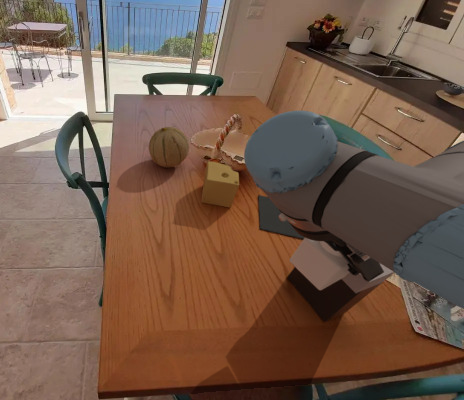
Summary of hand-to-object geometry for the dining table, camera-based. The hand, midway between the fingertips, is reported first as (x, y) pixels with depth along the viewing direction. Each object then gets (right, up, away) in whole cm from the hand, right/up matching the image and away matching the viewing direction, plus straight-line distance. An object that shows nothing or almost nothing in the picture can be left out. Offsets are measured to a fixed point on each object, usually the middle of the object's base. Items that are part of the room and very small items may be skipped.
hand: (340, 250), depth 49 cm
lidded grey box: (+5, -14, +16) cm, 21 cm away
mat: (+8, +4, +35) cm, 36 cm away
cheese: (-12, +11, +41) cm, 44 cm away
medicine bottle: (-3, -4, +2) cm, 6 cm away
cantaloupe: (-27, +23, +54) cm, 65 cm away
